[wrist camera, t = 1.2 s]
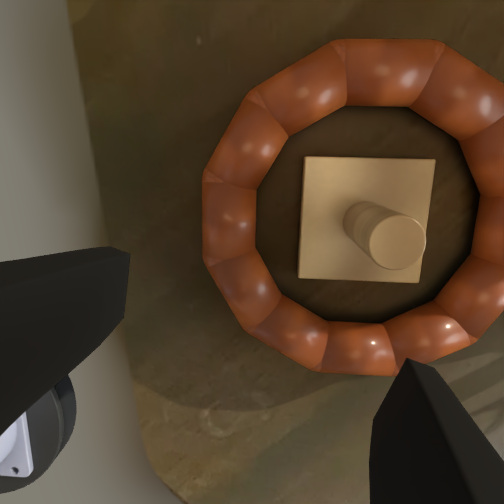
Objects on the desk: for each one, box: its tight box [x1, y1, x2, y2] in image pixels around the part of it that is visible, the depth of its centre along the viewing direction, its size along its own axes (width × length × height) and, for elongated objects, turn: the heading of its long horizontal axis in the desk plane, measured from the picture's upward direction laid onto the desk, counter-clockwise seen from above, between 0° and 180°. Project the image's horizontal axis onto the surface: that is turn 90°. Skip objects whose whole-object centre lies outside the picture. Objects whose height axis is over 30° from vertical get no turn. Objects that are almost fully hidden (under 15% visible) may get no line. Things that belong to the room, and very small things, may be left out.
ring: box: [202, 39, 504, 376], centre depth 17 cm, size 16×16×3 cm
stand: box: [297, 156, 436, 283], centre depth 15 cm, size 6×6×6 cm
